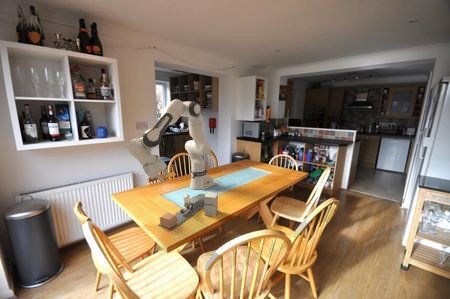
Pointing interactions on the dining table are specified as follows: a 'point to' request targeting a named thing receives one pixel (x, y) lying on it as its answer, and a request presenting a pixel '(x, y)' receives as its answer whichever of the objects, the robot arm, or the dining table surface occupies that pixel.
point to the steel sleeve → (197, 201)
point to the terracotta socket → (168, 220)
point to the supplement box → (211, 203)
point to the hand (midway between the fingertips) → (165, 177)
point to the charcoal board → (183, 217)
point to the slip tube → (186, 204)
